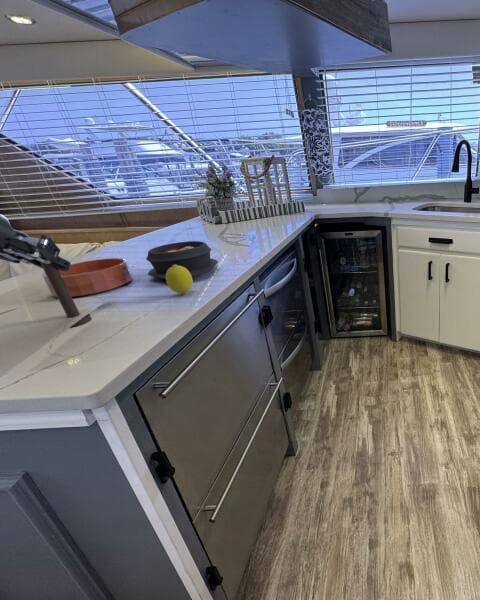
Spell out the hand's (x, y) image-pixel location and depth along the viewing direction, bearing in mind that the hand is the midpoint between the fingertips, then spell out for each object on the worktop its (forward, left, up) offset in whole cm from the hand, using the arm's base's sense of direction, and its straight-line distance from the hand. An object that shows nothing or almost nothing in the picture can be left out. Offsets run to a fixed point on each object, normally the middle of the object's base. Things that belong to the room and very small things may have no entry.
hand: (61, 267), depth 67 cm
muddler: (-1, -2, -12) cm, 12 cm away
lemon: (+17, +8, -12) cm, 23 cm away
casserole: (+12, +29, -12) cm, 34 cm away
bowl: (-10, +25, -12) cm, 29 cm away
